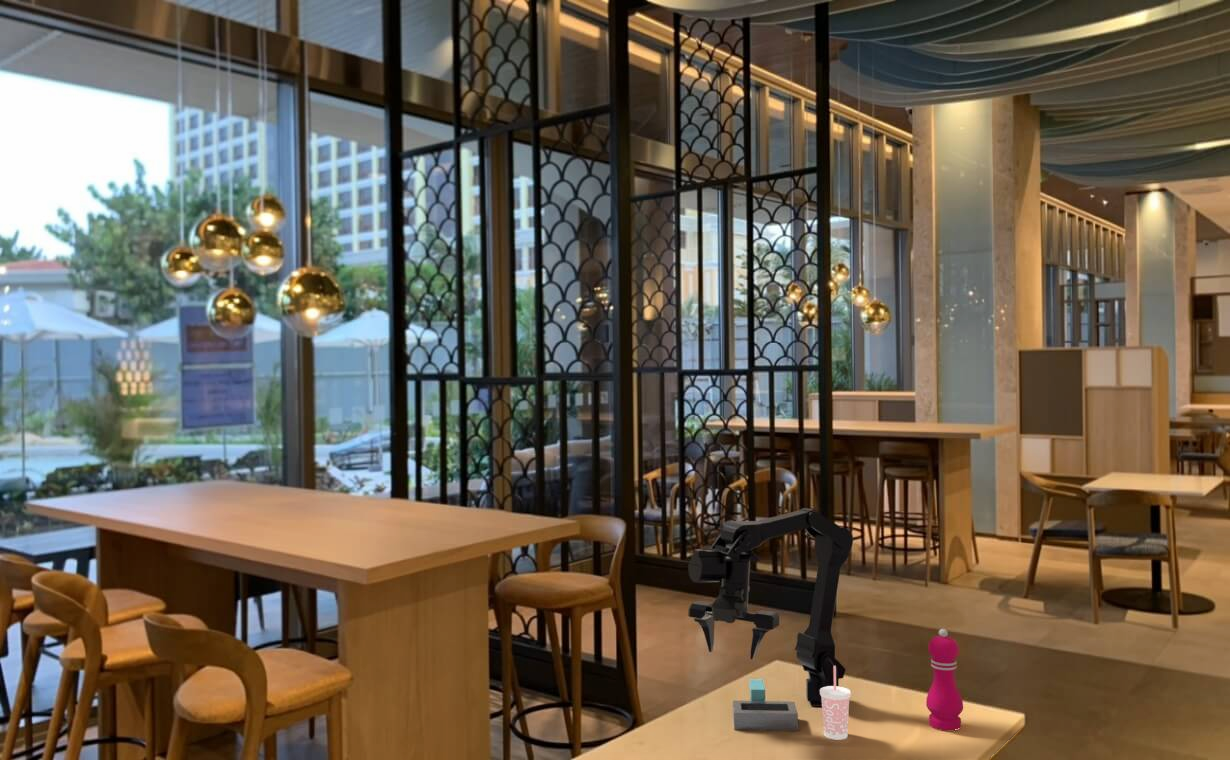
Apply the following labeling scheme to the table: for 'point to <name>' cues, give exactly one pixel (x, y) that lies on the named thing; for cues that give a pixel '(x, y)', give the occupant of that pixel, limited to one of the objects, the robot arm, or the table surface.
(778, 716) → the grey slotted tray
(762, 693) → the light blue rectangular block
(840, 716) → the beverage cup
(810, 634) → the robot arm
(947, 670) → the pepper mill
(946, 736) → the table surface
